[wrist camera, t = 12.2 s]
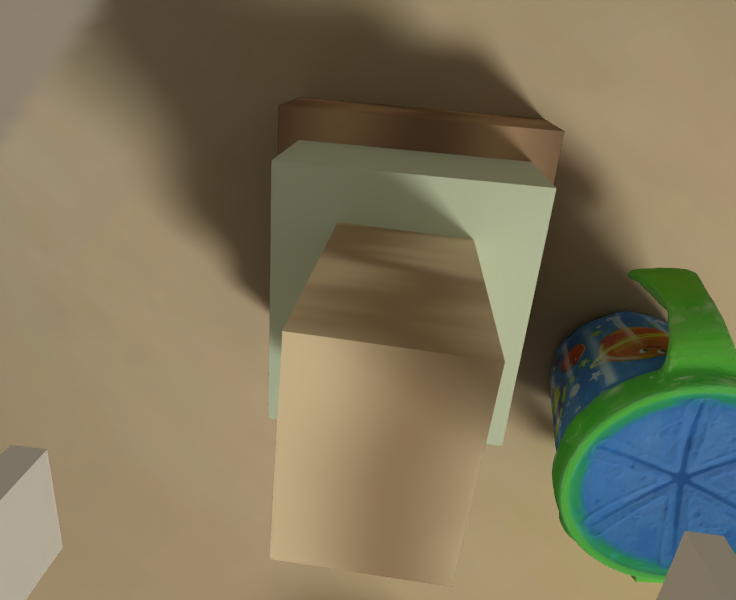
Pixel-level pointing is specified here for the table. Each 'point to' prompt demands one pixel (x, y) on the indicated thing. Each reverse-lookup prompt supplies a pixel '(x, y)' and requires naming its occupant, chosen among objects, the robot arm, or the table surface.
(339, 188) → the sage slab
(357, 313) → the oak block
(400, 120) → the walnut slab
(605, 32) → the table surface
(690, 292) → the snack cup
